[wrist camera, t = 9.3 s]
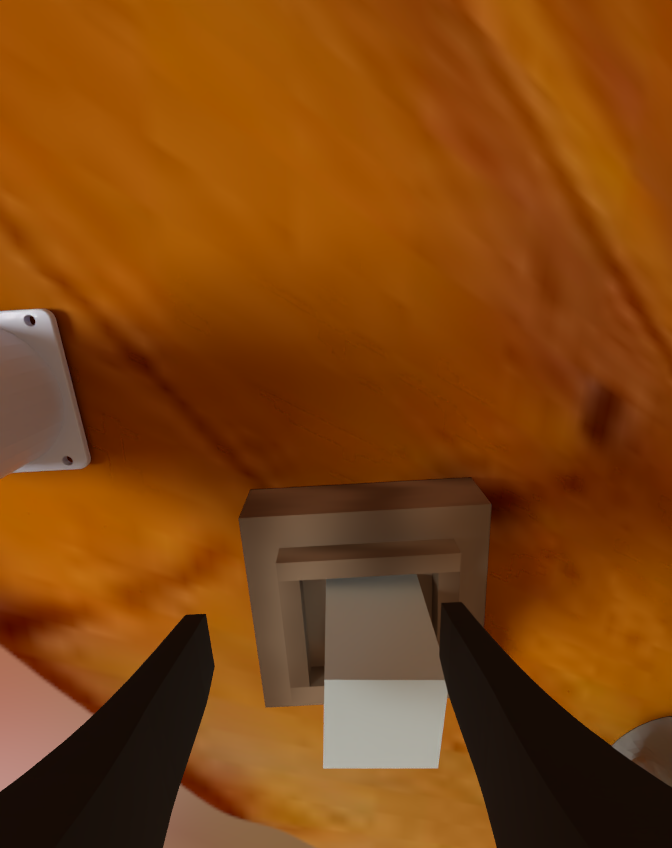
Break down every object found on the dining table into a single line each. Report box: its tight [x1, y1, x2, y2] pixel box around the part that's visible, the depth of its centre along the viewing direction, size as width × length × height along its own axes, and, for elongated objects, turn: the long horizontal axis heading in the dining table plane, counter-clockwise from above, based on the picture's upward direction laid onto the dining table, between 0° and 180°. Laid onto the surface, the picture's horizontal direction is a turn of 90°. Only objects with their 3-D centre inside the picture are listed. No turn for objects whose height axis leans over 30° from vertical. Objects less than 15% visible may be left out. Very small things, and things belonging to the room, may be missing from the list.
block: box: [323, 574, 448, 768], centre depth 18 cm, size 4×4×6 cm
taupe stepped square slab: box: [239, 477, 492, 707], centre depth 22 cm, size 12×12×4 cm
